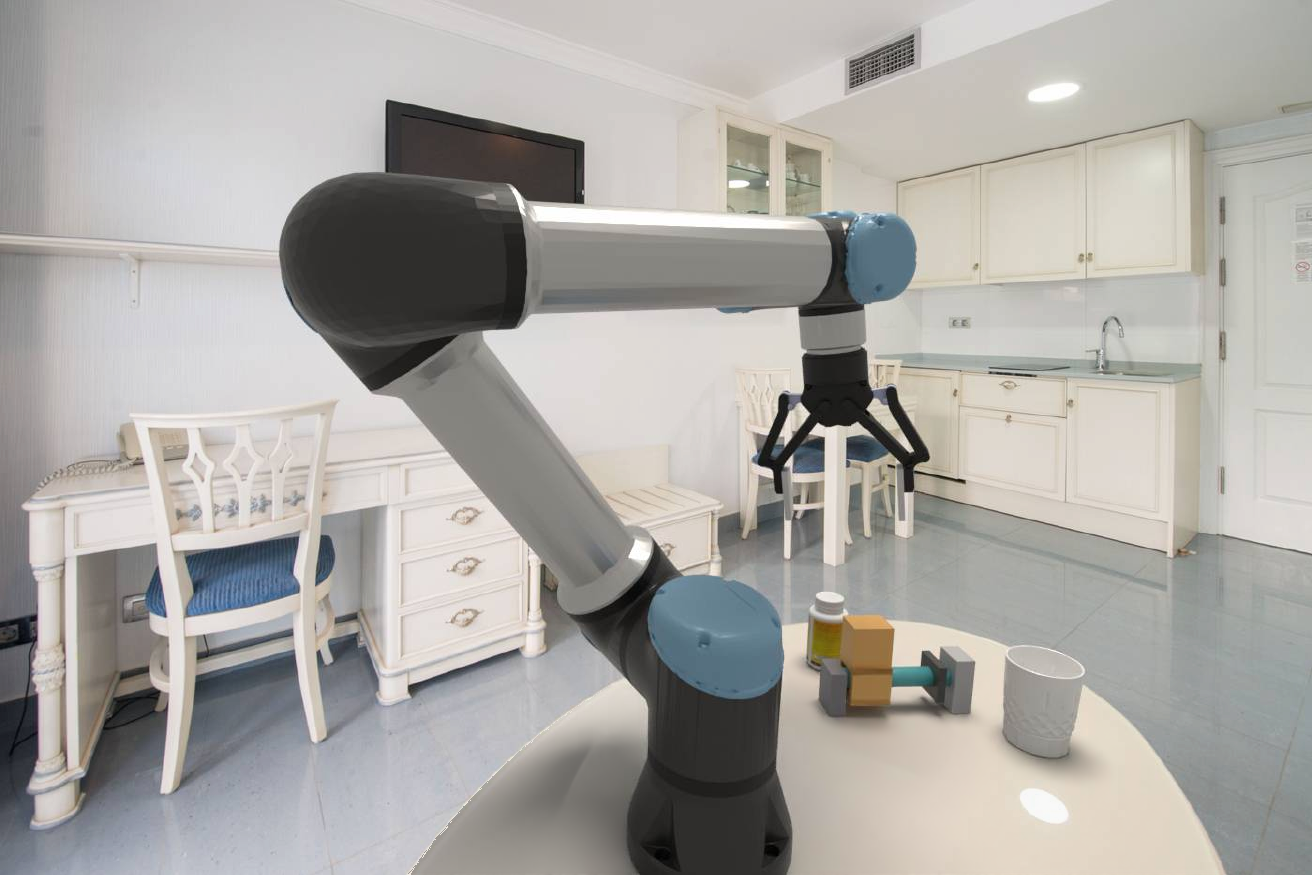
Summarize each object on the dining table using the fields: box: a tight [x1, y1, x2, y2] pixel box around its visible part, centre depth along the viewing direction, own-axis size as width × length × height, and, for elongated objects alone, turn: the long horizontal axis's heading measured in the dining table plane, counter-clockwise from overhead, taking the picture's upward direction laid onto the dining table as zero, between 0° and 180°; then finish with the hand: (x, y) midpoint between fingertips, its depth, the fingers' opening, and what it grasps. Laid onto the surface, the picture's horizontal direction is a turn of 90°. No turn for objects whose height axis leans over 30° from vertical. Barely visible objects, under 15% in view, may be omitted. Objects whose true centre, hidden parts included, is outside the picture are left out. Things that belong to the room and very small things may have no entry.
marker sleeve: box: [839, 614, 896, 707], centre depth 81 cm, size 5×5×10 cm
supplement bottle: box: [805, 591, 850, 671], centre depth 92 cm, size 6×6×10 cm
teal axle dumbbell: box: [818, 645, 976, 718], centre depth 81 cm, size 18×5×7 cm, turn 94°
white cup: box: [1002, 644, 1086, 759], centre depth 75 cm, size 8×8×10 cm
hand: (844, 517), depth 81 cm, fingers open, 13 cm apart
